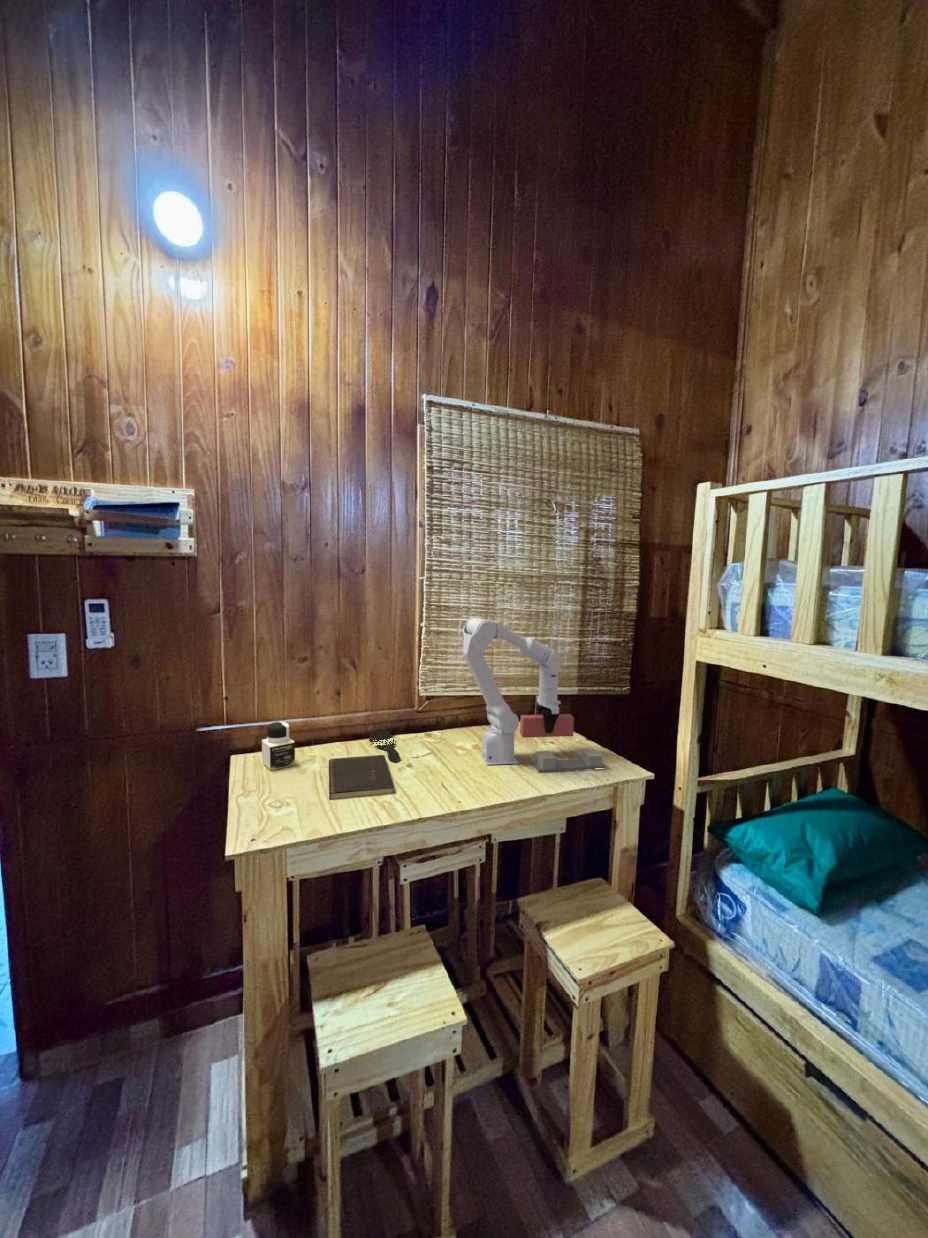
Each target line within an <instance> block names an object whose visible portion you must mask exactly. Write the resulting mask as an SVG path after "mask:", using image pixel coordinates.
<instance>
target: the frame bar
mask: <svg viewBox="0 0 928 1238" xmlns="http://www.w3.org/2000/svg"><path fill="white" fill-rule="evenodd" d="M519 725H520V728H519V733H520V734H519V735H520V736H521V737H522V739H523V738H527V739H528V738H553V737H554V738H555V737H556V738H558V737H559V738H561V737H564V738H565V737H574V725H575V717H574V716H573V715H572V714H570V713H566V714H564V713H562V714H561V713H560V715H559V716H558V718H557V720H556V723H555V726H554V729H553V732H552V733H546V732H545V726H544V718H543V715H538V714H520V722H519Z"/></svg>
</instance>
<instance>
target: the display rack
mask: <svg viewBox="0 0 928 1238" xmlns="http://www.w3.org/2000/svg"><path fill="white" fill-rule="evenodd" d="M531 763H532V766H533V768H534V769H535V770H536V771H537V772H538V773H541V772H543V773H556V772H557V773H558V772H560V773H561V772H573V771H575V772H576V770H579V771H586V770H585V769H595V768H605V769H606V765H605V764H604V763H603V755H602V754H600V753H599V752H598V751H597V750H595V749H594V748H581V749H580V758H577V759H576V758H574V759H573V758H572V759H557V757H556V756H555V755H554V754H553V753H552V752H551V751H550V750H539V751H537V750H536V751H535V761H533V760H532V762H531Z"/></svg>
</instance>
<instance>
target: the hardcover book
mask: <svg viewBox="0 0 928 1238" xmlns="http://www.w3.org/2000/svg"><path fill="white" fill-rule="evenodd" d="M393 789H395V785H394V782H393V778H392V774H391V771H390V768H389V766H388V762H387V760H386V756H385V754H379V755H378V754H377V755H364V756H363V755H362V756H351V757H350V756H349V757H337V758H335V757H334V758H330V759H329V760H328V799H329V800H332V799H333V800H334V799H342V798H344V799H345V798H355V797H356V798H357V797H364V796H365V797H367V796H376V795H377V796H378V795H385V794H393Z"/></svg>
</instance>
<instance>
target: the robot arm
mask: <svg viewBox="0 0 928 1238" xmlns="http://www.w3.org/2000/svg"><path fill="white" fill-rule="evenodd" d="M462 634H463V645H462V647H463V648H462V655H463V657H464V659H465V661H466V664H467V665H468V667H469V670H470V672H471V674H472V676H473V679H474V680H475V682H476V684H477V686H478V689H479V691H480V693H481V695H482V697H483V699H484V701H485V704H486V706H485V709H486V713H487V720H488V722H489V724H490V730H486V731H482V735H481V737H482V739H481V741H482V743H481V757H482V759H483V762H485V764H486V765H487V766H493V765H494V766H495V765H514V764H515V765H516V764H519V761H518V759H516V757H515V733H516V731H517V729H518V728H519V725H520V720H519V717H518V715H517V714H516V713H514V712H513V711H512V710H511V709H512V708H511V707H510V706H509V705H508V704H507V702H506V701H505V699H504V697H503V696H502V693H501V691H500V688H499V687H498V684H497V682H496V679H495V678H494V675H493V674H492V671H491V670H490V667H489V665H488V662H487V660H486V659H485V655H484V652H485V651H486V648H487V647H488V646H489V645H490V643H492V641H493V640H499V639H500V640H503V641H505V642H507V643H509V644H511V645H513V646H515V647H516V648H518V649H519V653H520V654H522V656H525V657H526V658H529V659H530V660H532V661H534V662H536V663H537V664H538V666H539V674H538V675H539V679H538V682H539V683H538V695H537V696H536V697H537V698H536V702H537V704H536V705H535V706H534V707H535V709H536V712H537V715H543V718H544V726H545V732H546V733H552V732H553V729H554V726H555V723H556V720H557V718H558V716H559V715H560V714H561V711H560V707H559V705H561V703H562V702H561V700H558V691H559V689H558V688H559V673H560V668H561V666H562V665H563V662H564V659H563V658H562V655H561V653H560V651H558V650H555V649H552V648H550V645H548V644H543V643H542V642H540V641H539V639H538V638H537V637H535V636H532V637H531V636H527V637H525V638H524V637H522V636H521V635H520V634H518V633H516V632H514V631H513V630H511V629H509V628H508V627H506V626H505V625H503V624H500V623H497V622H495V621H493V620H490V619H484V618H481V617H478V616H472V617H470V618H468V620H467V621H466V622H465V624H464V627H463V629H462Z"/></svg>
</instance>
